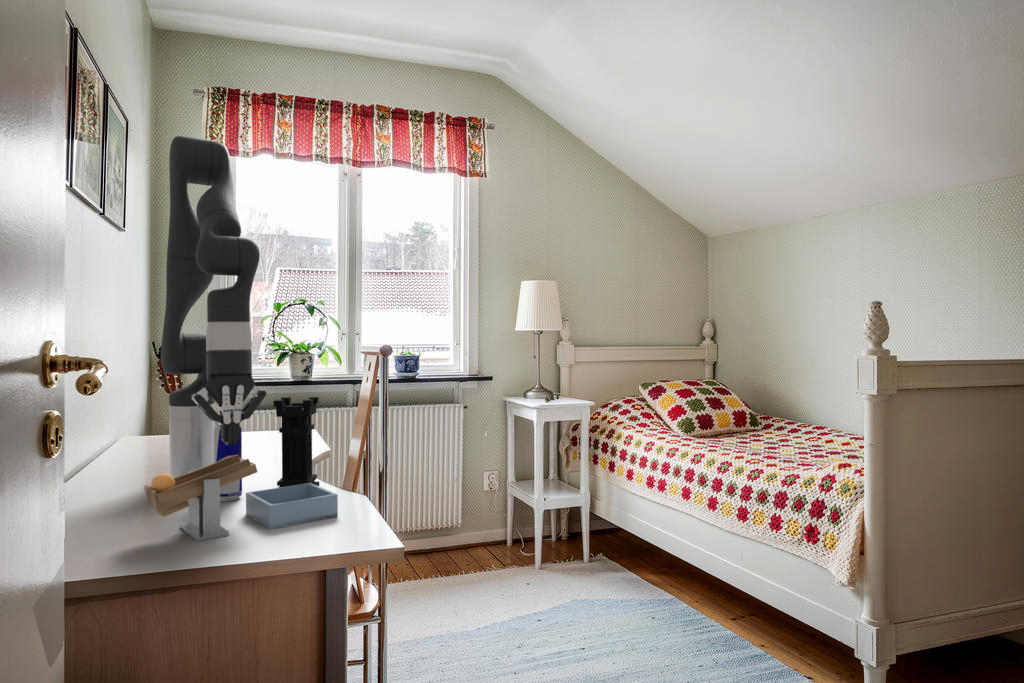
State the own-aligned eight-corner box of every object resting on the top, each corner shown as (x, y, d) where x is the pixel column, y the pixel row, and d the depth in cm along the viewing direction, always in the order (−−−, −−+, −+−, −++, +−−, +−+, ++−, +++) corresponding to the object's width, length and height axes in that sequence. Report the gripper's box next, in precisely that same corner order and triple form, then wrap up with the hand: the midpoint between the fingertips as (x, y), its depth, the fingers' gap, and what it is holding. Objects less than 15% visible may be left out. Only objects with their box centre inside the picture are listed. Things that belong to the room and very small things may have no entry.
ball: (151, 495, 109) (146, 475, 108) (174, 488, 111) (169, 468, 110) (156, 499, 106) (151, 479, 105) (179, 491, 108) (174, 472, 108)
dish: (246, 514, 122) (245, 492, 122) (310, 503, 130) (309, 482, 130) (270, 529, 113) (270, 505, 113) (337, 516, 121) (337, 494, 121)
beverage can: (232, 502, 131) (231, 426, 131) (208, 501, 132) (208, 425, 132) (247, 496, 136) (246, 422, 136) (224, 495, 137) (224, 422, 137)
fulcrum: (180, 527, 114) (179, 472, 114) (211, 522, 118) (210, 468, 117) (196, 541, 107) (195, 482, 107) (229, 535, 110) (228, 477, 110)
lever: (145, 505, 114) (137, 480, 113) (238, 468, 123) (231, 445, 123) (161, 519, 105) (152, 493, 104) (260, 478, 115) (253, 454, 114)
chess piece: (282, 493, 138) (281, 396, 138) (321, 492, 139) (321, 396, 139) (271, 503, 130) (270, 400, 130) (313, 502, 131) (312, 400, 131)
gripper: (259, 347, 127) (260, 438, 127) (183, 348, 118) (184, 446, 119) (273, 347, 121) (274, 442, 121) (195, 348, 113) (196, 451, 113)
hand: (230, 444), depth 120 cm, fingers closed
